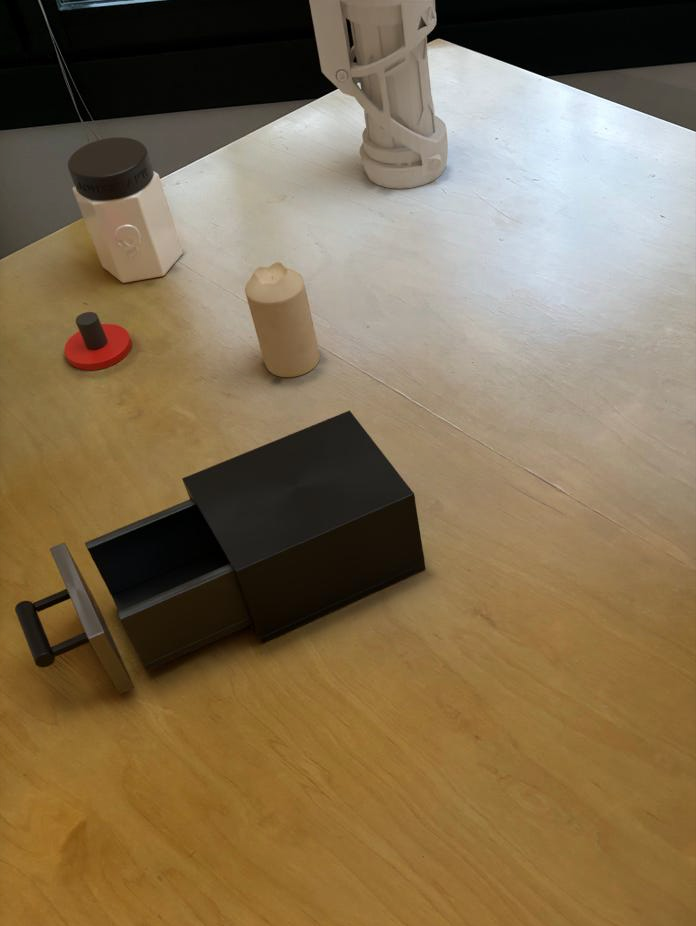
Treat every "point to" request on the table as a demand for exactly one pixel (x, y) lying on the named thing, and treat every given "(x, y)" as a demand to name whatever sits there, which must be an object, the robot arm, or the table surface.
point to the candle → (282, 320)
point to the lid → (96, 343)
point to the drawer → (146, 593)
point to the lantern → (386, 83)
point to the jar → (124, 209)
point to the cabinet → (310, 523)
